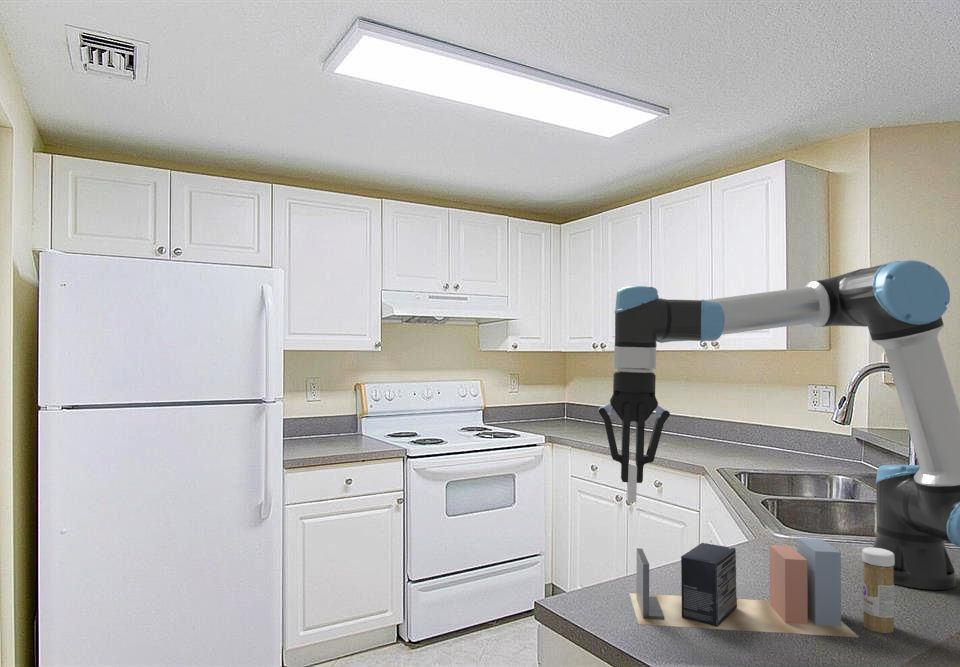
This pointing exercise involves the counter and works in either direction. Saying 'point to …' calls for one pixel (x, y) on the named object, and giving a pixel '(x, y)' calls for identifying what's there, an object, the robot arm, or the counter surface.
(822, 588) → the book
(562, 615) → the counter surface
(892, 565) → the sprinkles bottle
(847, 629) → the shelf board
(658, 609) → the bookend
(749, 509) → the counter surface
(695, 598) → the small box
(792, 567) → the book
